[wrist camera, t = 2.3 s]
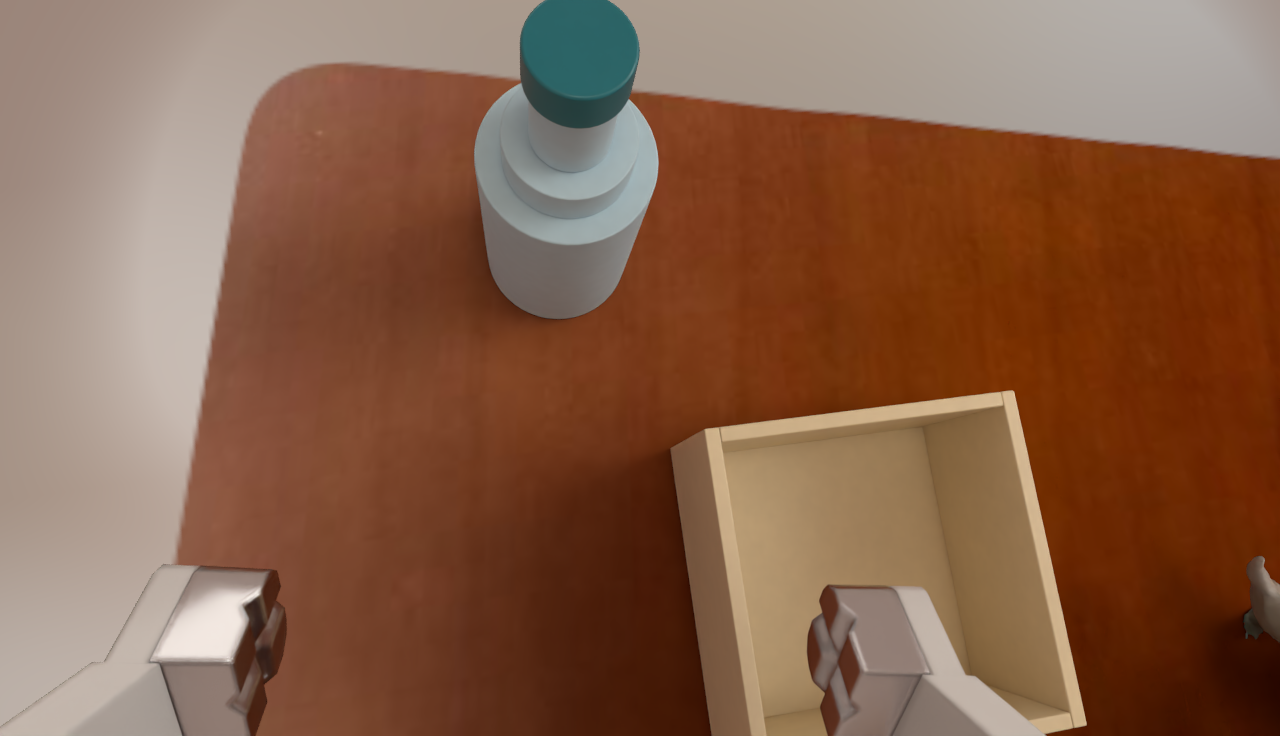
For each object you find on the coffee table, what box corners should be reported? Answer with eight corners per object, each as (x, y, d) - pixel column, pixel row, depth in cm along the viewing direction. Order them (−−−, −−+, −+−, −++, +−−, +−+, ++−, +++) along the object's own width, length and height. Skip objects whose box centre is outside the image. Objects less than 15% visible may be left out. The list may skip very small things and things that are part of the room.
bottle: (495, 326, 33) (471, 164, 18) (481, 194, 34) (446, -59, 19) (633, 312, 34) (714, 147, 19) (615, 184, 35) (680, -66, 20)
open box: (711, 737, 31) (759, 791, 25) (670, 448, 33) (704, 429, 27) (979, 687, 33) (1087, 726, 26) (925, 415, 35) (1014, 389, 28)
